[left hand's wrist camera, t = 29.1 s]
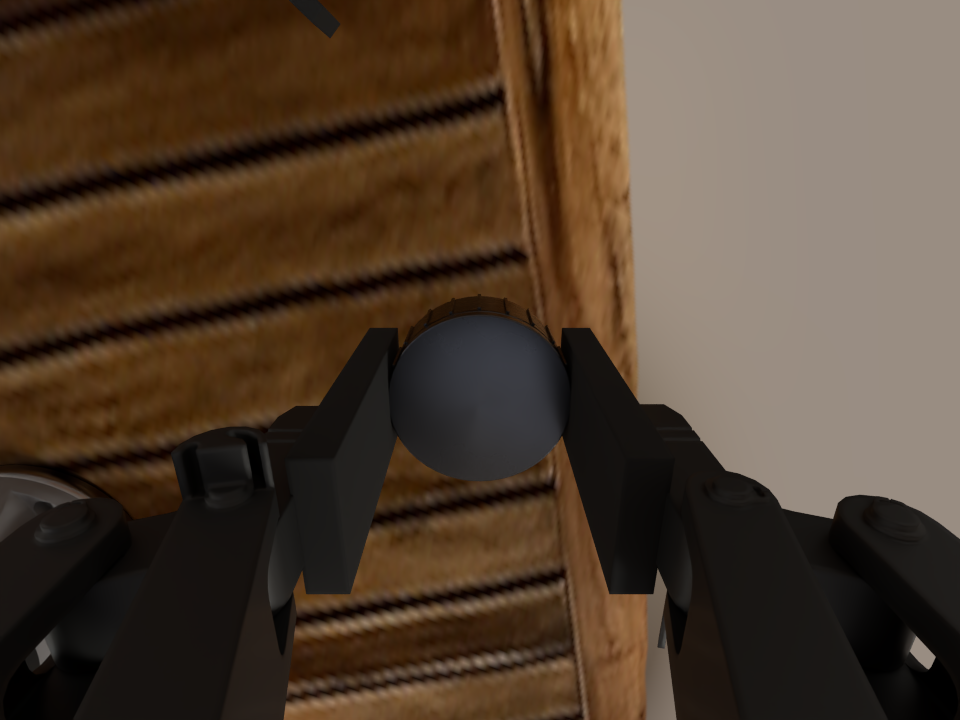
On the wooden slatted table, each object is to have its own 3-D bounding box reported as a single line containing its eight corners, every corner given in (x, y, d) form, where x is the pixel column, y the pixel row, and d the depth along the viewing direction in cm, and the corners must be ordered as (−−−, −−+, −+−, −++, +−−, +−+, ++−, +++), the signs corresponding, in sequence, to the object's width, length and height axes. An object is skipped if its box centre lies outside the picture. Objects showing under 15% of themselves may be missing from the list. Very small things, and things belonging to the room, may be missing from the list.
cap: (390, 293, 13) (377, 312, 12) (568, 292, 13) (580, 311, 12) (401, 447, 15) (391, 483, 13) (559, 446, 15) (569, 482, 13)
